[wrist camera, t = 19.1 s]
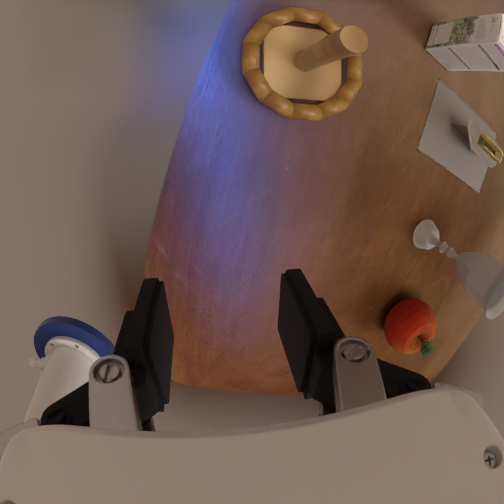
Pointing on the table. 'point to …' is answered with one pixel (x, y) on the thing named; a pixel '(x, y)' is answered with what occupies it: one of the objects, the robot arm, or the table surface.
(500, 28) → the syrup box
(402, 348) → the fruit
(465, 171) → the platform
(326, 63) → the post
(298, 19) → the ring
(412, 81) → the table surface
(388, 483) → the robot arm
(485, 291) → the chalice
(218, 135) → the table surface
